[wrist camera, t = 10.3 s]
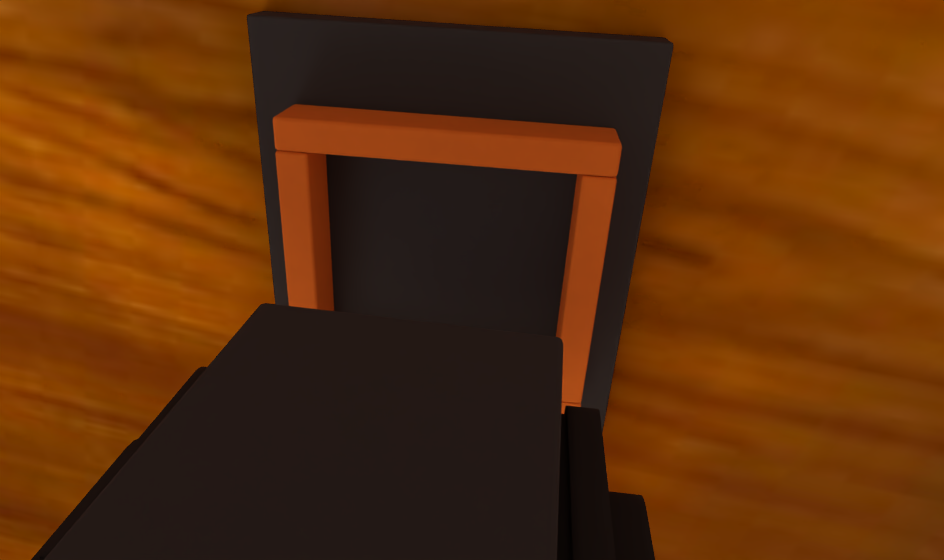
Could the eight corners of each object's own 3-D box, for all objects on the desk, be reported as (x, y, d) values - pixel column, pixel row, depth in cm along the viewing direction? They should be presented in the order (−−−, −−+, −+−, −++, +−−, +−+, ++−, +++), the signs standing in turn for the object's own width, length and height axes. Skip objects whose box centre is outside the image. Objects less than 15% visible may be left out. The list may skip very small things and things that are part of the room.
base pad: (261, 10, 16) (217, 20, 14) (667, 37, 16) (687, 52, 13) (296, 397, 22) (267, 448, 20) (597, 428, 21) (603, 484, 19)
